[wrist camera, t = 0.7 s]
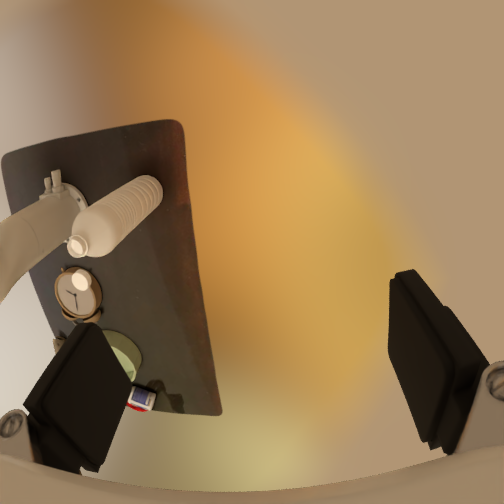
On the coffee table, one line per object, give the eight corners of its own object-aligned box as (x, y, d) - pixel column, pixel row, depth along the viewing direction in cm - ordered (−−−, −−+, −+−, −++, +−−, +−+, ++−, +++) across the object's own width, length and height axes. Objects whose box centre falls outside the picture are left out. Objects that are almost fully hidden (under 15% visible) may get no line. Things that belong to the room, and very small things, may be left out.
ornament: (144, 414, 82) (114, 399, 80) (145, 413, 82) (115, 397, 80) (153, 403, 78) (121, 386, 77) (154, 402, 79) (122, 385, 77)
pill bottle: (157, 390, 77) (126, 378, 76) (153, 402, 72) (121, 389, 71) (153, 403, 79) (124, 392, 78) (149, 415, 73) (118, 403, 72)
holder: (85, 327, 69) (77, 339, 65) (135, 332, 68) (127, 346, 64) (100, 367, 75) (93, 380, 70) (147, 374, 74) (141, 388, 70)
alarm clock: (92, 274, 59) (98, 338, 63) (103, 267, 64) (107, 328, 68) (51, 267, 59) (58, 328, 63) (62, 261, 64) (68, 320, 68)
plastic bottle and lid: (130, 173, 53) (48, 220, 31) (163, 175, 53) (95, 224, 31) (131, 219, 57) (60, 287, 34) (163, 222, 57) (104, 295, 34)
